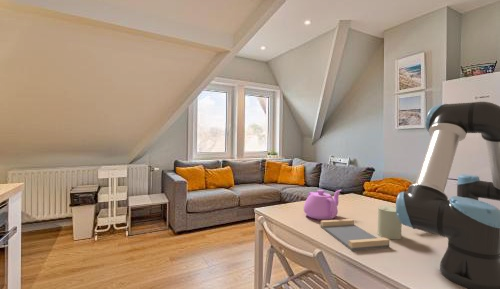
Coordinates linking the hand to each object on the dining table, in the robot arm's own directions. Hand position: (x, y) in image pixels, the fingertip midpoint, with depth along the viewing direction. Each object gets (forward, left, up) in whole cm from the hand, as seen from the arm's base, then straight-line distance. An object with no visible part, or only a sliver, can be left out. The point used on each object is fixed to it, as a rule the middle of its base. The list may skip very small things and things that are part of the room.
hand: (409, 212), depth 109 cm
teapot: (+14, +35, -9) cm, 39 cm away
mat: (-11, +25, -9) cm, 29 cm away
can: (-5, +9, -9) cm, 14 cm away
